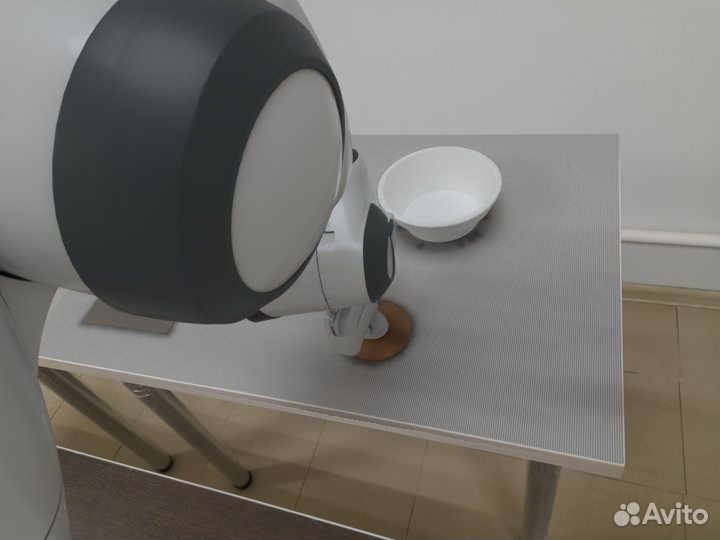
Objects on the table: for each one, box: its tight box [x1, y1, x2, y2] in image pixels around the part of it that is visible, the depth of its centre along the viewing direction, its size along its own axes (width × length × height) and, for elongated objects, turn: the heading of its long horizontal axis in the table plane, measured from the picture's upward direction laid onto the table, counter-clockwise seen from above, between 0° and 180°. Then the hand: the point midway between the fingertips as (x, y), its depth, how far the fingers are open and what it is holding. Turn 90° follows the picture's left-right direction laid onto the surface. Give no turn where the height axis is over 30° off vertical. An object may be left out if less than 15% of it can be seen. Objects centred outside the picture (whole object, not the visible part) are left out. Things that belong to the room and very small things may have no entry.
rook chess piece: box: [369, 303, 388, 339], centre depth 78 cm, size 4×4×8 cm
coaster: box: [352, 301, 412, 363], centre depth 81 cm, size 11×11×1 cm
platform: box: [83, 299, 174, 334], centre depth 93 cm, size 12×18×7 cm, turn 75°
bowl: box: [376, 145, 503, 243], centre depth 92 cm, size 21×21×8 cm
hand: (372, 318), depth 78 cm, fingers open, 5 cm apart
